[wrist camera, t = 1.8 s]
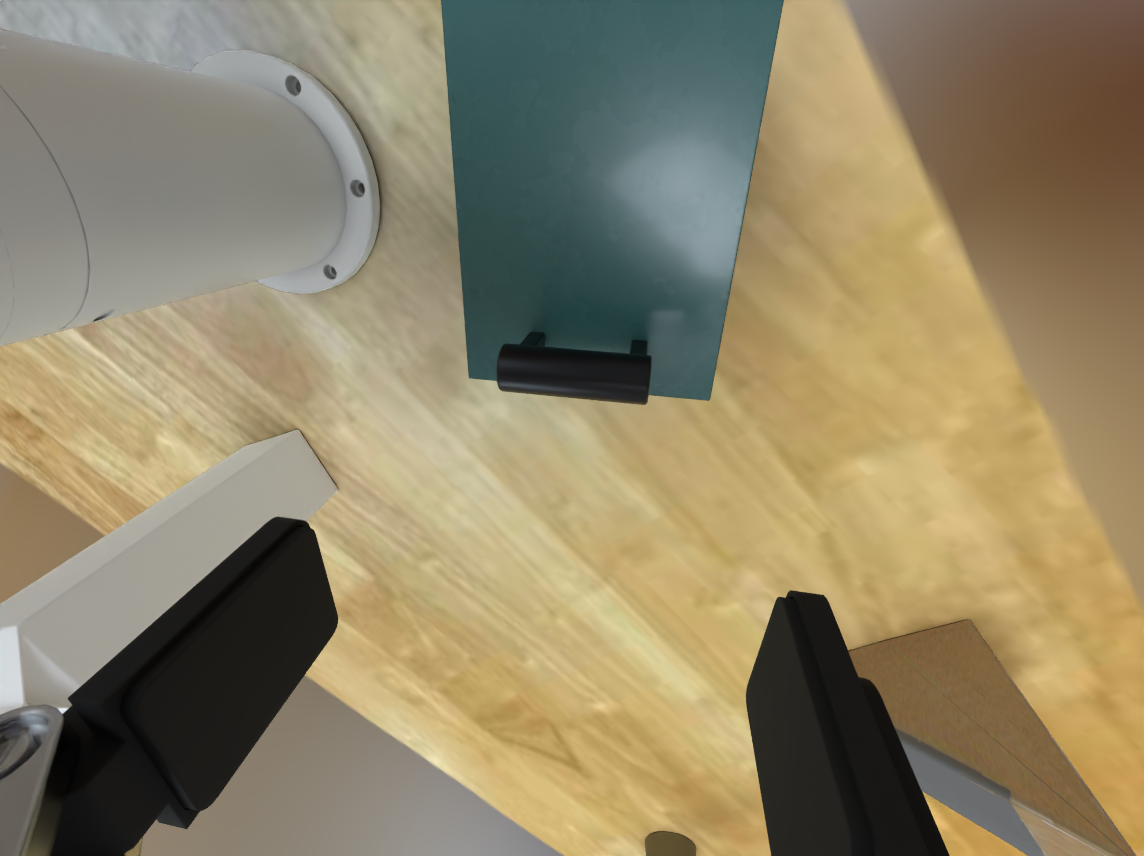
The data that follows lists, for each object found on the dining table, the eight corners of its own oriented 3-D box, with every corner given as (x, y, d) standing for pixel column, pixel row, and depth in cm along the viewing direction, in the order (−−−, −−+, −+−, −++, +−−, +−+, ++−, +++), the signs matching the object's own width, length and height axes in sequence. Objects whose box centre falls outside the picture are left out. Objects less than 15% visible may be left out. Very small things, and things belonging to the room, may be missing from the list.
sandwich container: (770, 671, 41) (822, 900, 28) (968, 616, 36) (1150, 873, 22) (814, 728, 44) (880, 962, 31) (1005, 685, 38) (1188, 953, 25)
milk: (340, 489, 40) (43, 785, 20) (285, 503, 41) (-36, 789, 22) (298, 426, 37) (-82, 695, 18) (241, 444, 39) (-160, 707, 20)
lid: (708, 394, 22) (722, 453, 17) (474, 372, 23) (427, 422, 19) (783, -20, 15) (839, -108, 11) (448, -16, 17) (364, -92, 12)
